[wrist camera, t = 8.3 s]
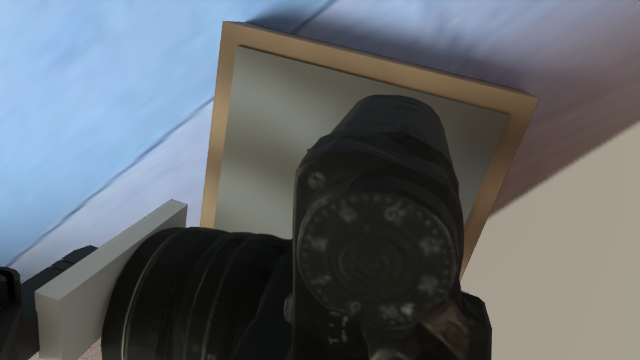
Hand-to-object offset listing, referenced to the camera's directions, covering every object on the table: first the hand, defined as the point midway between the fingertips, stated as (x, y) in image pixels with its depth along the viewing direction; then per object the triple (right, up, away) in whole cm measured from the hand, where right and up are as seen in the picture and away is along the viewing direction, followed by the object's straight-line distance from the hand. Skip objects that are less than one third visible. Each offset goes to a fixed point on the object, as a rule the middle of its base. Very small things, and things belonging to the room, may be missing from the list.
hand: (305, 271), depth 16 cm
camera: (0, +1, +1) cm, 1 cm away
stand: (+2, +3, +9) cm, 10 cm away
